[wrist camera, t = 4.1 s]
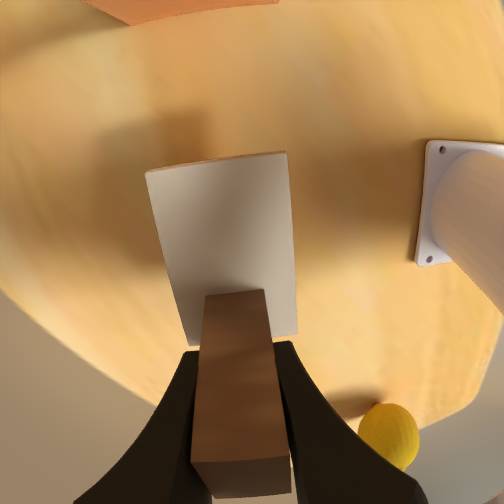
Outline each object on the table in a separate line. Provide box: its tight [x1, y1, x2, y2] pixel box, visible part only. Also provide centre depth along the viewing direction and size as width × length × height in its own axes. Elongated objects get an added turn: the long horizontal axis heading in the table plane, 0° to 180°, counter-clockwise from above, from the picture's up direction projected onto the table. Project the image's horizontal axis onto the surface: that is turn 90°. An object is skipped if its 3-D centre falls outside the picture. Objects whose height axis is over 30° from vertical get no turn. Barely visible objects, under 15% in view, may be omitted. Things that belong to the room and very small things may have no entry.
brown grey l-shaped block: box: [145, 151, 298, 499], centre depth 10 cm, size 5×8×8 cm, turn 6°
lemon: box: [358, 403, 419, 472], centre depth 23 cm, size 6×6×8 cm
